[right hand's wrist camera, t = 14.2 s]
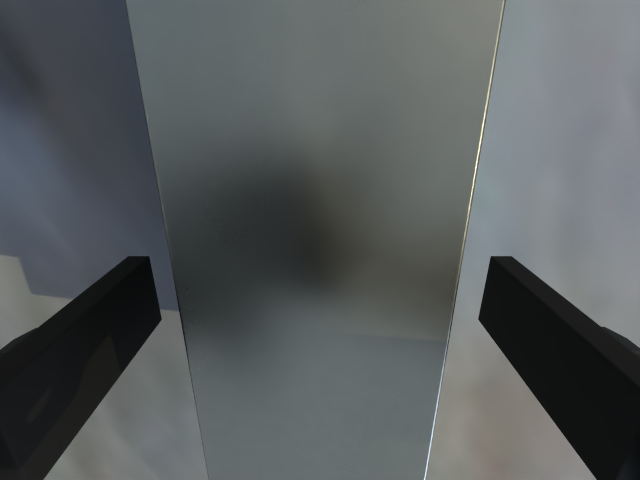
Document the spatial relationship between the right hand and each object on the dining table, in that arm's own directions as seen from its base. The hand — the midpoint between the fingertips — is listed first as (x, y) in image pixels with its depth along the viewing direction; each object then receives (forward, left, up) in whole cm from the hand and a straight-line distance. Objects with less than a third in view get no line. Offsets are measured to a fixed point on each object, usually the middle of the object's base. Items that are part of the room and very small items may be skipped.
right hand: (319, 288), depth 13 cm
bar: (+6, +12, -4) cm, 14 cm away
